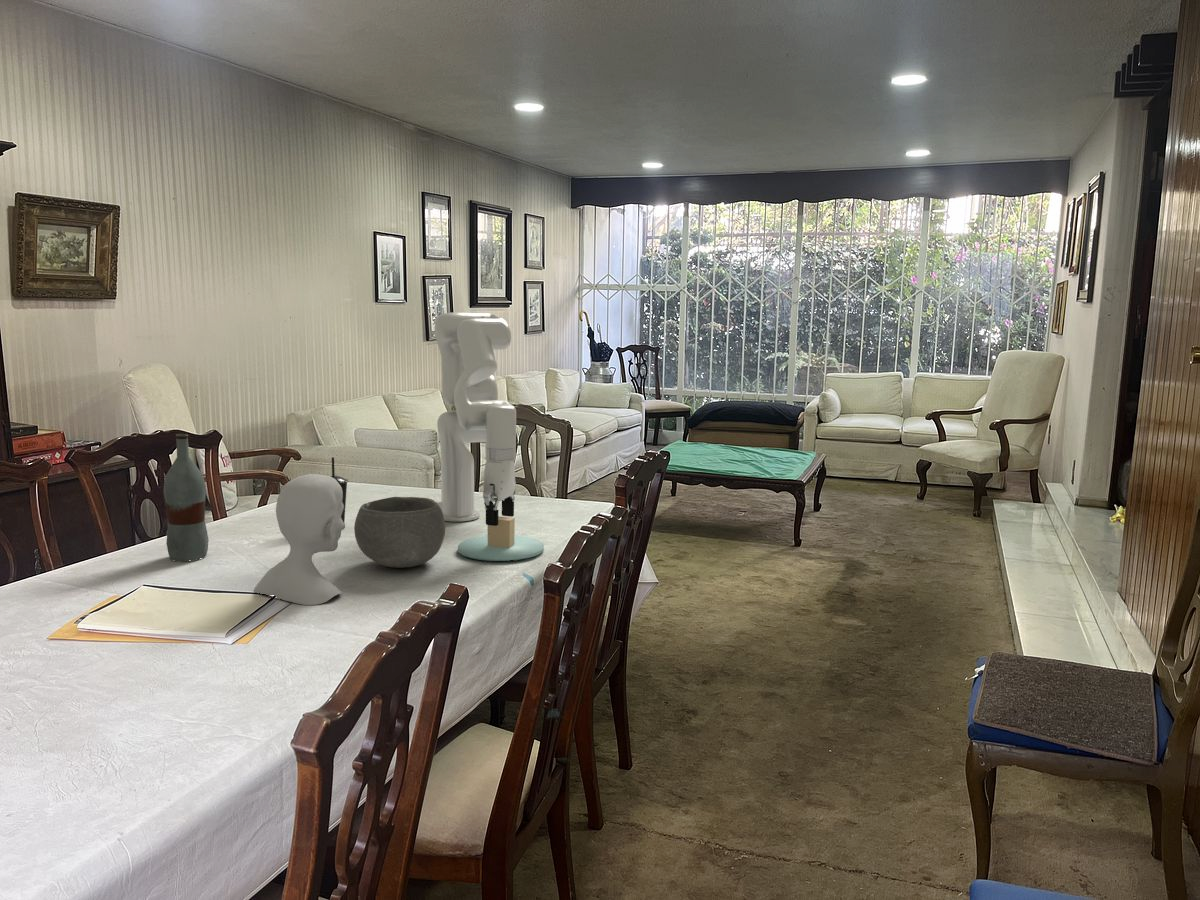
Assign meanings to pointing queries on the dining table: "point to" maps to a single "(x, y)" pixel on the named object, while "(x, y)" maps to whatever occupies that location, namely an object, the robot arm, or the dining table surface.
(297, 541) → the head bust
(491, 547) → the lid
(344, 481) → the walkie talkie
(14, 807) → the dining table surface
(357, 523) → the bowl
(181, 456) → the bottle
